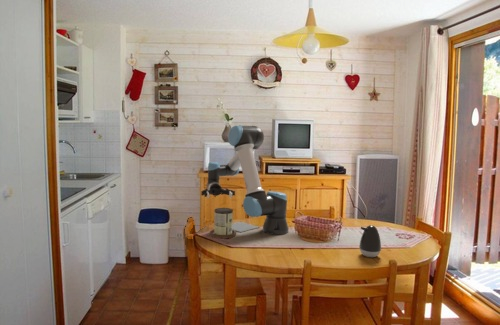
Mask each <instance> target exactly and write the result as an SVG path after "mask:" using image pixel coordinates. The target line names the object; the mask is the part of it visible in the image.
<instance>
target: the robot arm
mask: <svg viewBox="0 0 500 325" xmlns="http://www.w3.org/2000/svg"><path fill="white" fill-rule="evenodd" d="M227 136H228V137H227V141H228V143H229V145H230V146H232V147H233V148H234V151H235V152H236V153H235V154H234V156H233V157H231V159H230V160H229V162H228V163H226V164H220V162H218V161H217V162H216V161H211V162H209V163H208V166H207V181H206V188H205V189H202V191H201V194H200V195H201V196H204V198H206V197H207V199H210V195H212V196H215V197H216V196H217V197H218V196H221V195H227V196H228V197H230V198H231V199H233V196H236V195H235V194H236V191H235V190H232V189H228V188H223V187H222V186H221V184H220V177H230V176H232V177H233V176H237V175H239V174H240V173H239V172H240V168H241V172H242V176H243V181H244V185H245V189H246V192H245V194H244V196H245V197H244V198H243V201H242V202H243V203H242V207H243V209H244V212H245V214H246V215H247V216H249V217H250V218H259V217H264V216H265V219H264V221H263V225H262V231H263V233H265V234H269V235H285V234H288V233H289V225H288V221H287V210H288V209H287V205H288V199H287V198H288V195H287V194H286V193H284V192H279V191H274V190H273V191H272V190H269V191H267V192H266V190H265V189H263V187H262V183H261V179H260V176H259V171H258V167H257V163H256V158H255V154H254V152H255V150H258V149H259V148H260V147H261V146H262V145H263V143H264V140H265V134H264V132H263V130H262V129H261V127H258V126H257V125H241V124H239V125H234V126H232V127H231V128H230V130H229V132H228V134H227Z"/></svg>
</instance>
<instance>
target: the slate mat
mask: <svg viewBox="0 0 500 325" xmlns="http://www.w3.org/2000/svg"><path fill="white" fill-rule="evenodd" d="M259 228H260V226H257V225H254V224H249V223H247V222H243V221H237V222H234V223H233V222H232V230H235V231H236V233H237V232H238V233H243V232H244V233H245V232H248V231H253V230H256V229H259Z"/></svg>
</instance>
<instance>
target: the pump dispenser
mask: <svg viewBox="0 0 500 325" xmlns="http://www.w3.org/2000/svg"><path fill="white" fill-rule="evenodd" d="M360 229H361V230H363V232H362V235H361V236H360V241H359V251H360V253H361V254H362V255H363V256H364V257H366V258H376V257H377V256H379V254H380V252H381V251H382V241H381V236H380V233H379V231H378V229H377V227H376V226H374V225H371V224H370V225H368V226H366V227H363V226H361V227H360Z"/></svg>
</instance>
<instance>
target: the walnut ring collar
mask: <svg viewBox="0 0 500 325" xmlns="http://www.w3.org/2000/svg"><path fill="white" fill-rule="evenodd" d="M209 235H210V237H213V238H215V237H216V239H217V238H219V239H231V238H235V237H236V236H237V231H235V230H232V234H230V235H217V234H214V228H213V229H211V230H210V231H209Z"/></svg>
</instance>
